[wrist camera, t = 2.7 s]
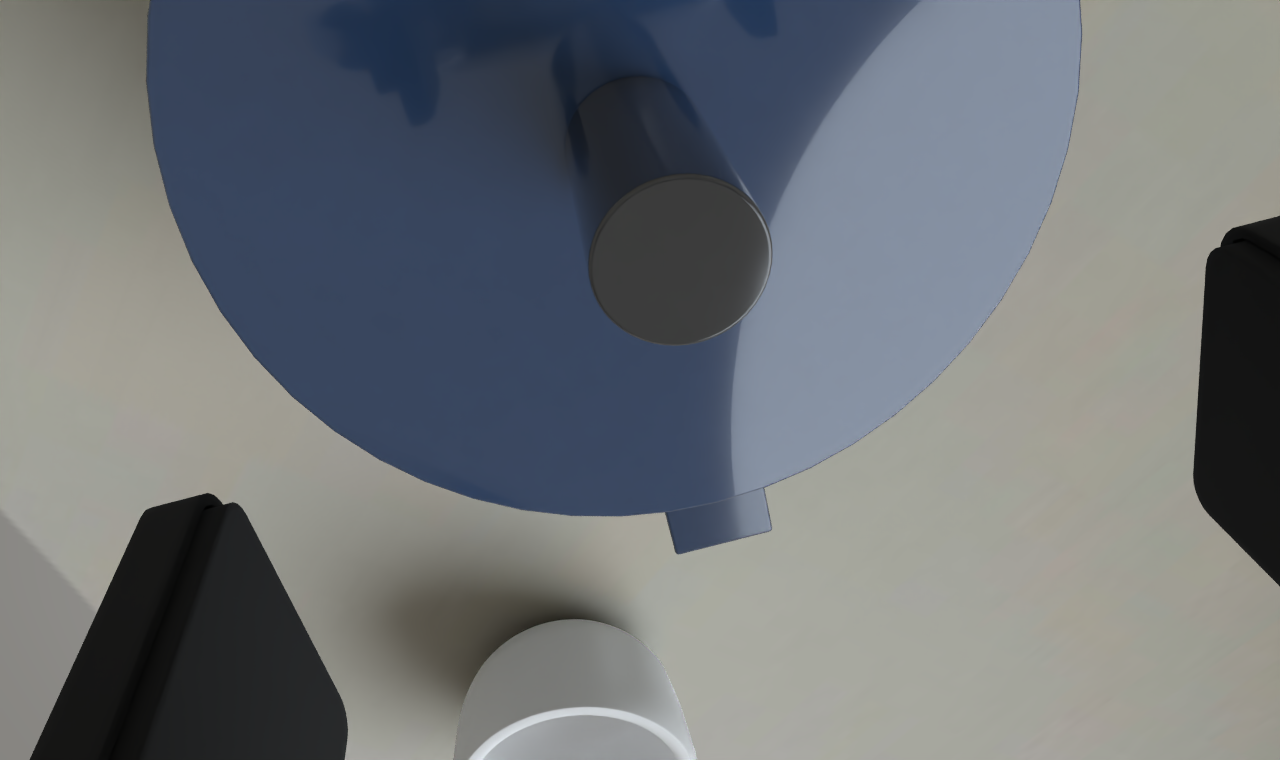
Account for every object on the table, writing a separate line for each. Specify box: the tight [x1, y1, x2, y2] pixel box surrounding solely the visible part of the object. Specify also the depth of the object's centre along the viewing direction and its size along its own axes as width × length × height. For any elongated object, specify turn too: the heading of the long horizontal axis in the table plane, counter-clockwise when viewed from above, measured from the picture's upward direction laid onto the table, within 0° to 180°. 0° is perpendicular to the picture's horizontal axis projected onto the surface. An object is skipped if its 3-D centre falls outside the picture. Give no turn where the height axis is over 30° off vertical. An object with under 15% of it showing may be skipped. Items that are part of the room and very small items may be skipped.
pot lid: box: [146, 0, 1082, 516], centre depth 17 cm, size 17×17×6 cm
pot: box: [665, 488, 772, 554], centre depth 23 cm, size 16×21×8 cm
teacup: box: [453, 619, 697, 760], centre depth 36 cm, size 10×8×5 cm
